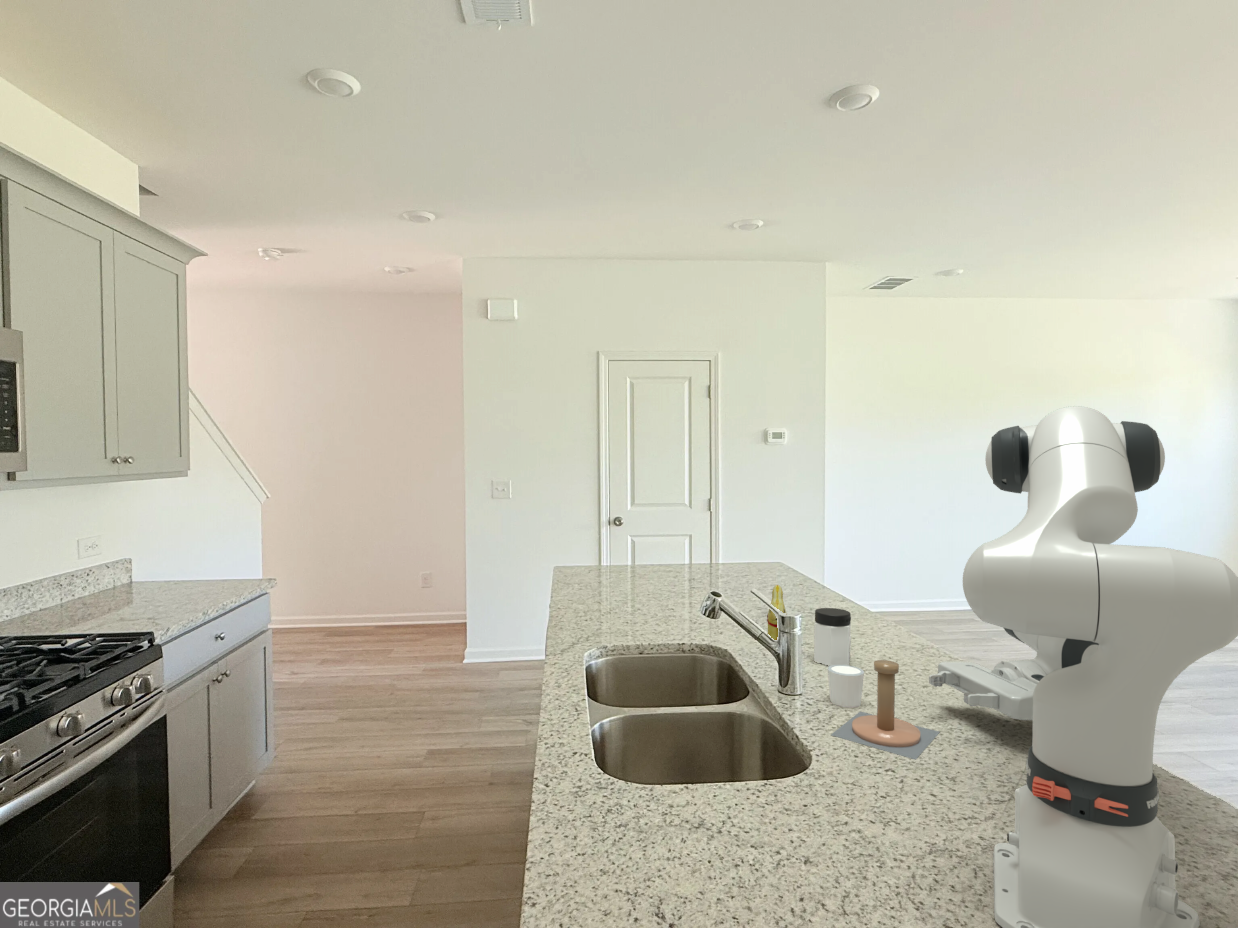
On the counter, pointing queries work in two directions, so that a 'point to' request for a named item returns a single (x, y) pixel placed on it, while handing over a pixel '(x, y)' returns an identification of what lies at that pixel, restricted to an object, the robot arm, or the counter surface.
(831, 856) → the counter surface
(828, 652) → the jar
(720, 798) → the counter surface
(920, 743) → the mat
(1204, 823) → the counter surface
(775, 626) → the chocolate bunny
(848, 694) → the shot glass
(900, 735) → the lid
